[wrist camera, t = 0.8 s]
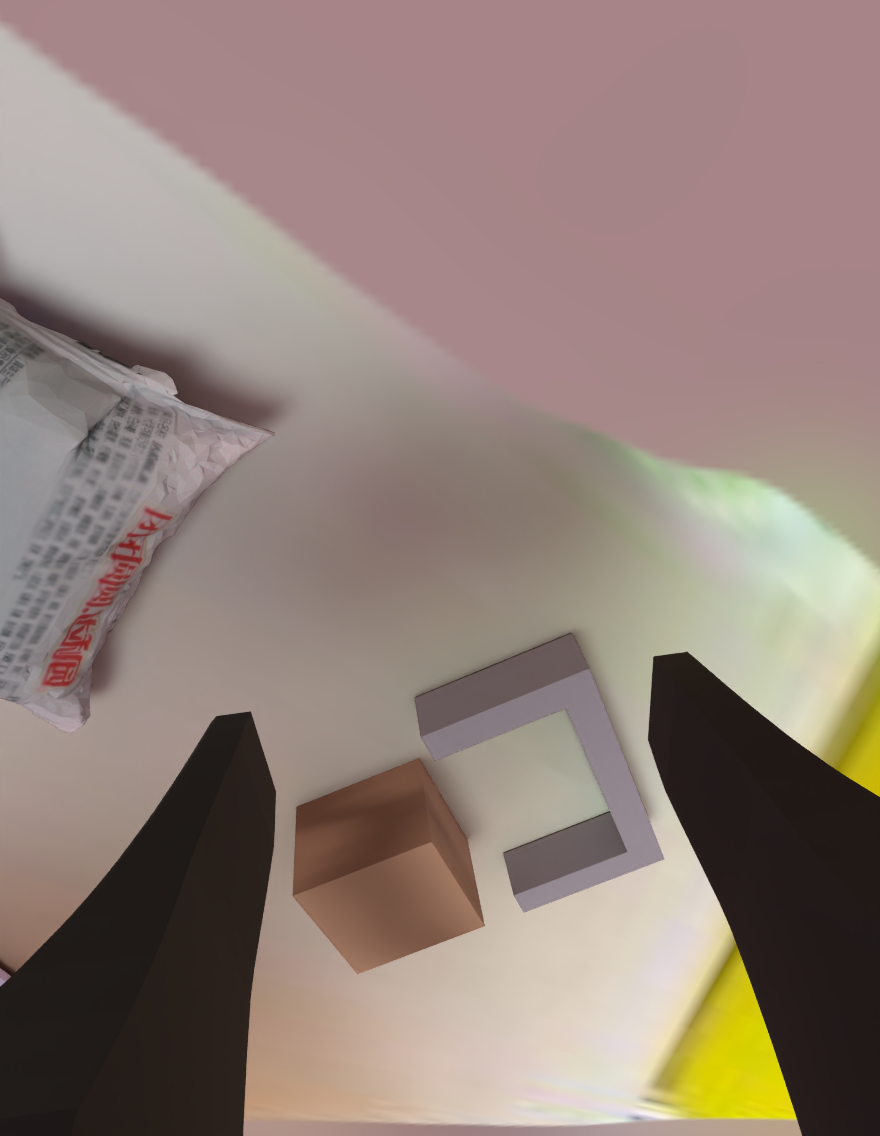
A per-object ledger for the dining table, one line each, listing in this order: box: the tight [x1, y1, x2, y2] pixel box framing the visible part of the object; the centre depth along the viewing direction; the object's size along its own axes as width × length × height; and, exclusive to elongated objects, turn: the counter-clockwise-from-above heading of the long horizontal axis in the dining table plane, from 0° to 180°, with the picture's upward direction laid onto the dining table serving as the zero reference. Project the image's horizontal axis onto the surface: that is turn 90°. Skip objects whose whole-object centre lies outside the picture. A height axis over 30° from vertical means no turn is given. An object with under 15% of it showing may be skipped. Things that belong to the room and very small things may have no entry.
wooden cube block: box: [293, 758, 485, 974], centre depth 28 cm, size 5×5×4 cm
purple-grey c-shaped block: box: [415, 633, 664, 912], centre depth 28 cm, size 6×10×2 cm, turn 22°
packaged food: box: [0, 299, 275, 733], centre depth 19 cm, size 9×12×5 cm
